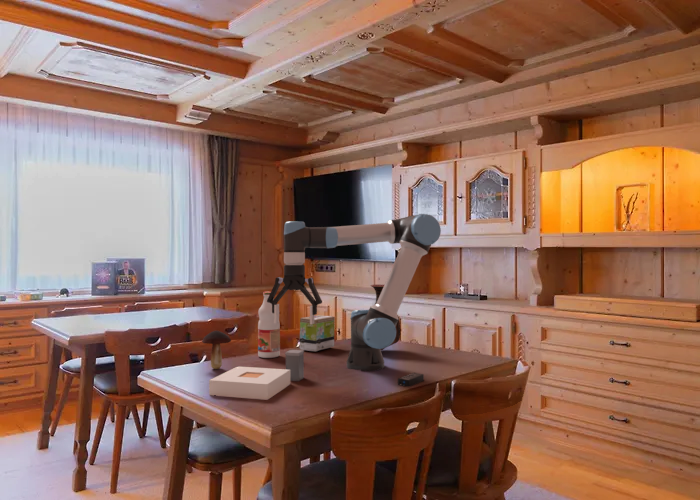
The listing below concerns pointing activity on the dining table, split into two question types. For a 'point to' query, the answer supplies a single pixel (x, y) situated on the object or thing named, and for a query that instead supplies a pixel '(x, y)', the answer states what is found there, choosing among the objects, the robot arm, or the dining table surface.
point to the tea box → (317, 333)
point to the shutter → (252, 375)
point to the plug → (295, 364)
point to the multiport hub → (410, 379)
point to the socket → (250, 383)
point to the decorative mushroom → (216, 347)
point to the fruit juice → (268, 331)
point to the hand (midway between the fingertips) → (294, 323)
